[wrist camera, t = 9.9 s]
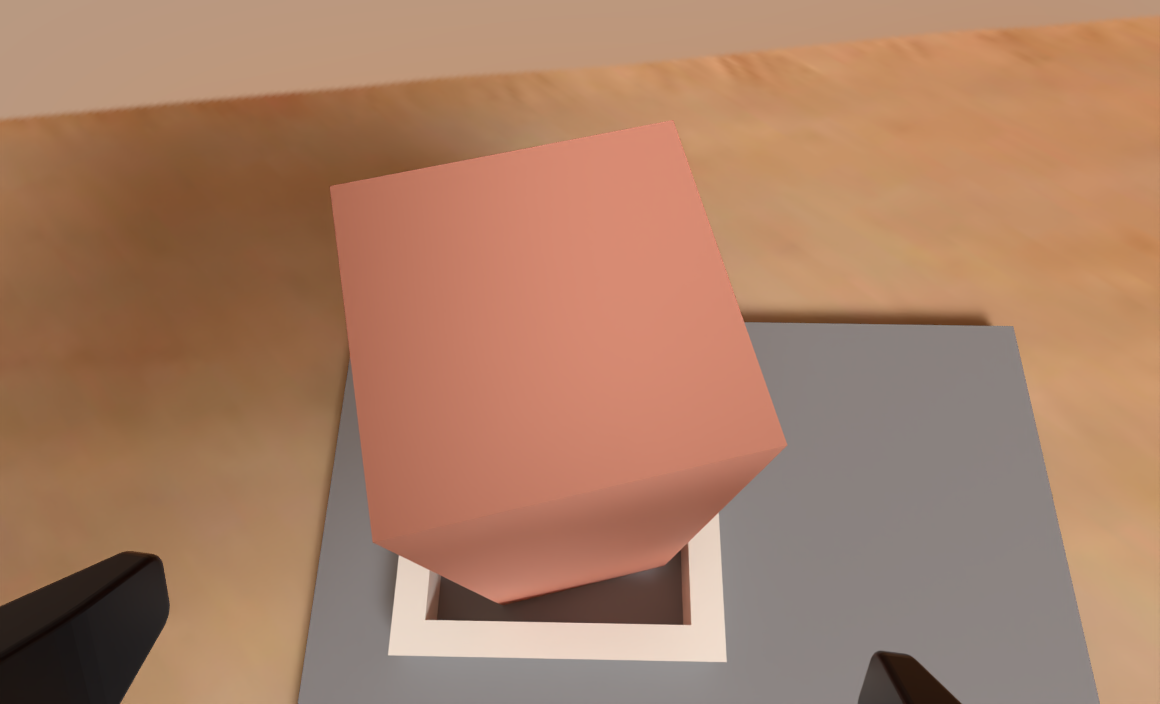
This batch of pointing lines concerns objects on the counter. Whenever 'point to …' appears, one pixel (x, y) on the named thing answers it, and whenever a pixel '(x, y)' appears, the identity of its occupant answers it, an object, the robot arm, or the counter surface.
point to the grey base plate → (762, 558)
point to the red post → (547, 362)
